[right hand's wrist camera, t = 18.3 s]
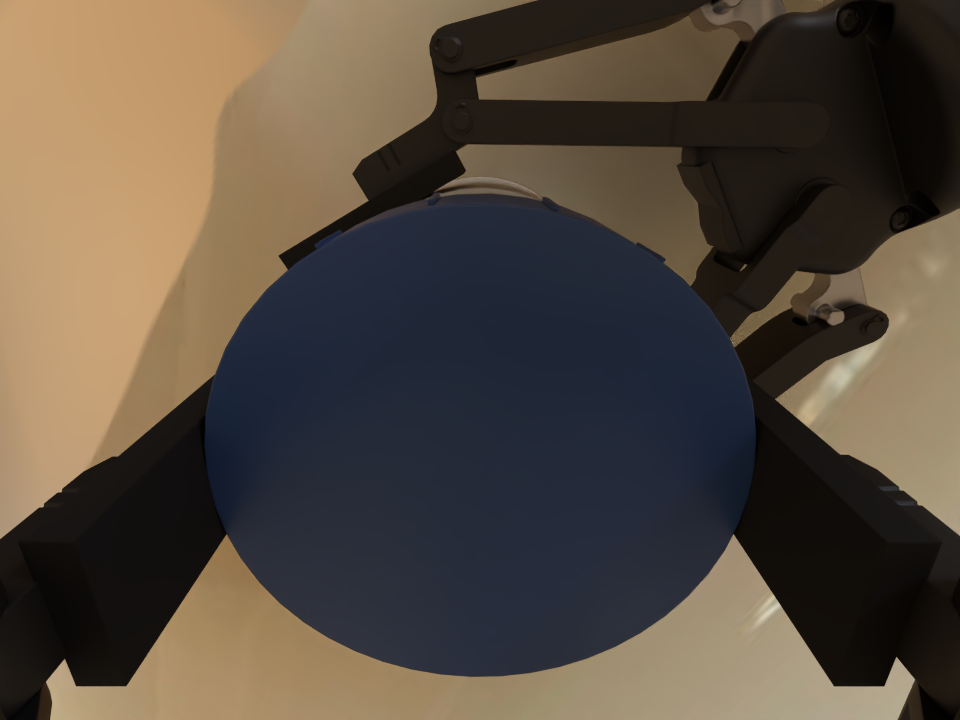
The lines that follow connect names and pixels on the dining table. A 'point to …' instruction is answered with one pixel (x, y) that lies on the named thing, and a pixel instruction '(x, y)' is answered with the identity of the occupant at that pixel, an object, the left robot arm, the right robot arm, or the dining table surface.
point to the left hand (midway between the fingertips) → (381, 379)
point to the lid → (480, 437)
